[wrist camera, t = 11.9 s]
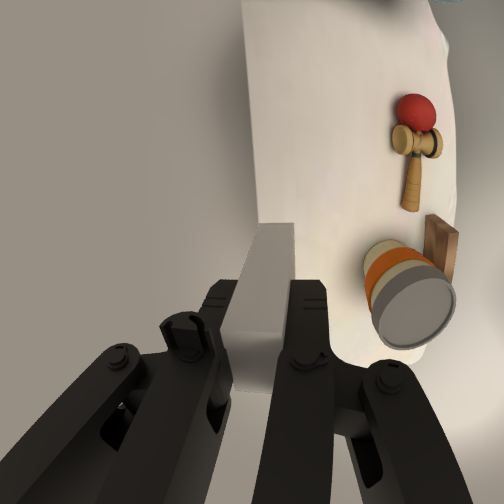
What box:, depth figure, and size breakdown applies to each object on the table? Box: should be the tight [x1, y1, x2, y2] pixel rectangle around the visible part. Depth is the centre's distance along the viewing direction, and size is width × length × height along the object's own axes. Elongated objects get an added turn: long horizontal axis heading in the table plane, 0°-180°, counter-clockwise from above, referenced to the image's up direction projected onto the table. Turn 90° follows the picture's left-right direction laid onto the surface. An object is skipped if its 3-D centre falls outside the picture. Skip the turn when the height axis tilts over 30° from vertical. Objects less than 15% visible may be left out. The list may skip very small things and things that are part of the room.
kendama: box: [392, 94, 443, 212], centre depth 33 cm, size 8×6×18 cm
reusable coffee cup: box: [363, 240, 456, 350], centre depth 37 cm, size 12×13×15 cm
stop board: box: [423, 214, 459, 284], centre depth 39 cm, size 16×2×8 cm, turn 11°
